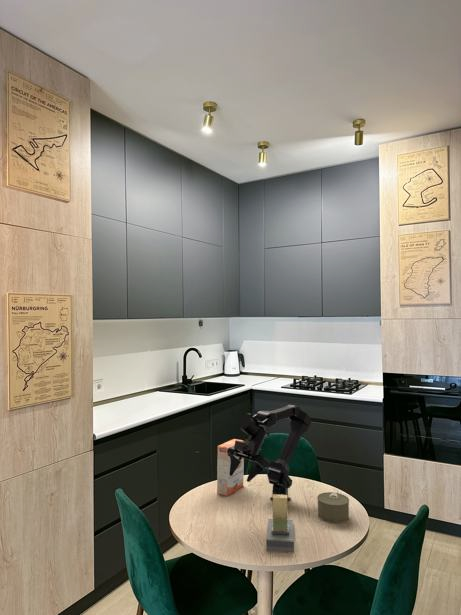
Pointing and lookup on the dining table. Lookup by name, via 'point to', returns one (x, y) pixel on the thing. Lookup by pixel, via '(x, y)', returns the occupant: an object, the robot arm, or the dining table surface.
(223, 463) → the cracker box
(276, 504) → the lever
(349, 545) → the dining table surface
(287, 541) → the rail
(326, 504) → the can
